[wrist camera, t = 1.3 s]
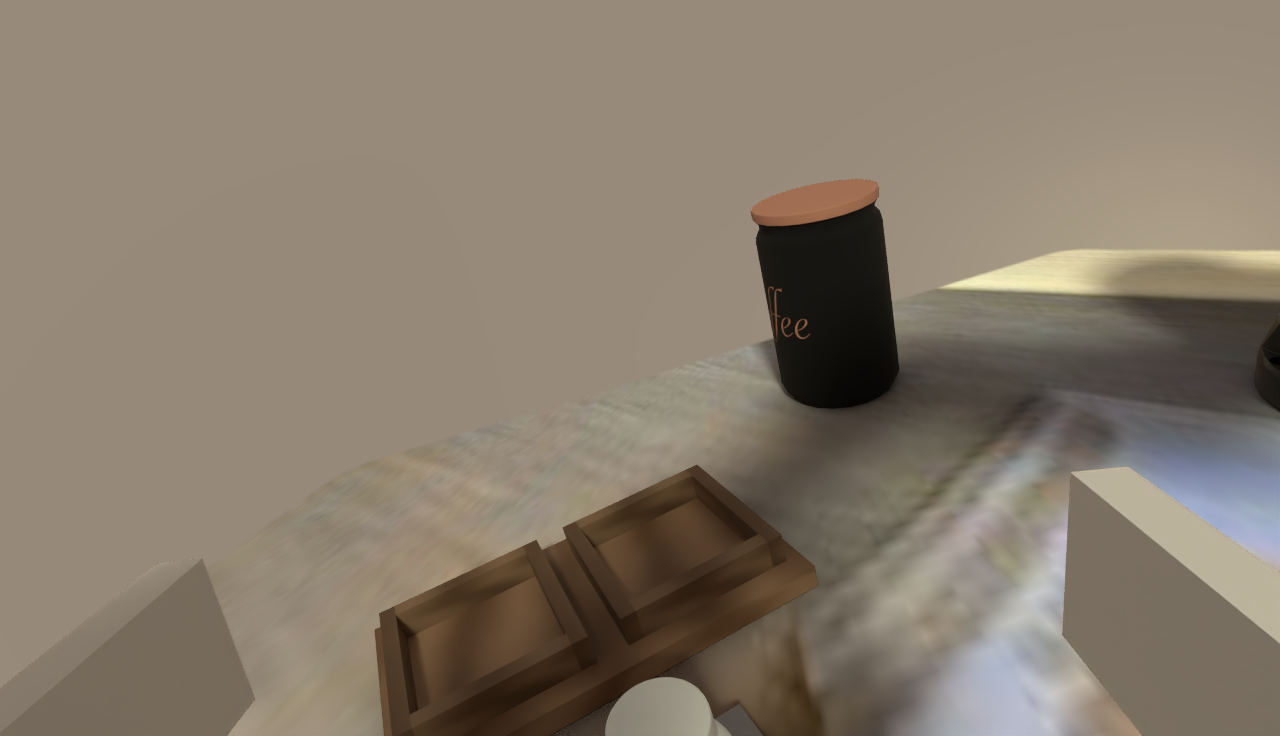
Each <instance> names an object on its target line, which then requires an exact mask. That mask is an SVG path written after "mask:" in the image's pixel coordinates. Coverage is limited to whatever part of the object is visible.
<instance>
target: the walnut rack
mask: <svg viewBox="0 0 1280 736" xmlns="http://www.w3.org/2000/svg"><path fill="white" fill-rule="evenodd" d="M563 530H564V533H565V536H566V538H567V539H565V540H563V541H561V542H559V543H557V544H555V545H553V546H550V547H548V548H546V549H544V550H541V548H540V546H539V544H538V542H537V540H535V541H533V542H531V543H529V544H527V545H524V546H522V547H520V548H518V549H516V550H514V551H512V552H509V553H507V554H505V555H503V556H501V557H499V558H497V559H494V560H492V561H490V562H488V563H486V564H484V565H482V566H480V567H477V568H475V569H473V570H471V571H469V572H467V573H465V574H462V575H460V576H458V577H456V578H454V579H452V580H450V581H447V582H445V583H443V584H441V585H439V586H437V587H435V588H432V589H430V590H428V591H426V592H424V593H422V594H420V595H418V596H415V597H413V598H411V599H409V600H407V601H405V602H403V603H400V604H398V605H396V606H394V607H392V608H390V609H388V610H385V611H383V612H381V613H379V616H380V625H381V627H380V628H377V629H375V639H376V650H377V661H378V672H379V684H380V695H381V706H382V717H383V728H384V736H549V735H551V734H553V733H555V732H557V731H558V730H560V729H562V728H564V727H566V726H567V725H569V724H571V723H573V722H574V721H576V720H578V719H580V718H582V717H583V716H585V715H587V714H589V713H591V712H592V711H594V710H596V709H598V708H600V707H601V706H603V705H605V704H607V703H608V702H610V701H612V700H614V699H616V698H617V697H619V696H621V695H623V694H625V693H626V692H627V691H628V690H630V689H631V688H632V687H634V686H636V685H638V684H640V683H642V682H644V681H647V680H650V679H651V678H653V677H655V676H657V675H658V674H660V673H662V672H664V671H666V670H667V669H669V668H671V667H673V666H675V665H676V664H678V663H680V662H682V661H683V660H685V659H687V658H689V657H691V656H692V655H694V654H696V653H698V652H700V651H701V650H703V649H705V648H707V647H708V646H710V645H712V644H714V643H716V642H717V641H719V640H721V639H723V638H725V637H726V636H728V635H730V634H732V633H734V632H735V631H737V630H739V629H741V628H742V627H744V626H746V625H748V624H750V623H751V622H753V621H755V620H757V619H759V618H760V617H762V616H764V615H766V614H767V613H769V612H771V611H773V610H775V609H776V608H778V607H780V606H782V605H784V604H785V603H787V602H789V601H791V600H792V599H794V598H796V597H798V596H800V595H801V594H803V593H805V592H807V591H809V590H810V589H812V588H814V587H816V586H817V585H818V582H817V576H816V571H815V566H814V565H813V564H812V563H810V562H809V561H808V560H807V559H806V558H804V557H803V556H802V555H801V554H800V553H798V552H797V551H796V550H795V549H794V548H793V547H791V546H790V545H789V544H788V543H787V542H785V541H784V540H783V539H782V536H781V534H780V533H778V532H777V531H776V530H775V529H774V528H772V527H771V526H770V525H769V524H768V523H766V522H765V521H764V520H763V519H762V518H760V517H759V516H758V515H757V514H756V513H754V512H753V511H752V510H751V509H750V508H748V507H747V506H746V505H745V504H744V503H742V502H741V501H740V500H739V499H738V498H736V497H735V496H734V495H733V494H732V493H730V492H729V491H728V490H727V489H726V488H724V487H723V486H722V485H721V484H720V483H718V482H717V481H716V480H715V479H714V478H712V477H711V476H710V475H709V474H708V473H706V472H705V471H704V470H703V469H702V468H700V467H699V466H698V465H695V466H693V467H691V468H689V469H687V470H685V471H683V472H680V473H678V474H676V475H674V476H672V477H670V478H668V479H665V480H663V481H661V482H659V483H657V484H655V485H653V486H650V487H648V488H646V489H644V490H642V491H640V492H638V493H635V494H633V495H631V496H629V497H627V498H625V499H623V500H621V501H618V502H616V503H614V504H612V505H610V506H608V507H606V508H603V509H601V510H599V511H597V512H595V513H593V514H591V515H588V516H586V517H584V518H582V519H580V520H578V521H576V522H574V523H571V524H569V525H567V526H565V527H563Z"/></svg>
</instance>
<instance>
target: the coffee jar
mask: <svg viewBox="0 0 1280 736" xmlns="http://www.w3.org/2000/svg"><path fill="white" fill-rule="evenodd" d="M878 197H879V187H878V184H877V182H874V181H871V180H861V179H851V180H839V181H832V182H824V183H819V184H814V185H809V186H804V187H800V188H797V189H793V190H789V191H786V192H783V193H780V194H777V195H774V196H771V197H769V198H767V199H765V200H762V201H761V202H759V203H758V204H756V205H755V206H754V207H753V208H752V210H751V215H752V219H753V221H754V222H755V223H757V224H758V225H759V231H758V234H757V237H756V245H757V250H758V256H759V261H760V266H761V272H762V277H763V283H764V288H765V293H766V299H767V304H768V309H769V315H770V320H771V326H772V331H773V336H774V342H775V347H776V353H777V358H778V363H779V369H780V374H781V379H782V383H783V385H784V386H785V388H786V389H787V391H788V392H789V394H791V395H792V396H793V397H794V398H795V399H796V400H798V401H799V402H801V403H803V404H805V405H809V406H813V407H818V408H841V407H851V406H855V405H859V404H863V403H866V402H869V401H871V400H873V399H875V398H878V397H880V396H881V395H882V394H884V393H885V392H886V391H887V390H889V388H890V386H891V385H892V383H893V382H894V380H895V378H896V376H897V374H898V371H899V363H898V354H897V345H896V336H895V327H894V318H893V309H892V300H891V291H890V282H889V273H888V264H887V255H886V246H885V237H884V228H883V219H882V216H881V213H880V210H879V209H878V208H877V207H875V205H874V204H875V202H876V200H877V198H878Z"/></svg>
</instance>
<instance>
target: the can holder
mask: <svg viewBox="0 0 1280 736" xmlns="http://www.w3.org/2000/svg"><path fill="white" fill-rule="evenodd" d="M715 720H717V721H718V722H719V723H721V724H722V725H723V726H724V727H725V728H726V729H727V730H728V731H729V733H730V734H731V735H732V736H763V735H762V733H761V732H760V731H759V729H758V728H757V727H756V725H755V724H754V723H753V721H752V720H751V719H750V717H749V716H748V715H747V713H746V712H745V711H744V709H743V708H742V707H741V705H740V704H738V705H737V706H735V707H733V708H732V709H730V710H728V711H727V712H725V713H723V714H722V715H720V716H718V717H717V718H715Z"/></svg>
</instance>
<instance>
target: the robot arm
mask: <svg viewBox="0 0 1280 736" xmlns="http://www.w3.org/2000/svg"><path fill="white" fill-rule="evenodd" d="M1255 384H1256V387H1257V389H1258V391H1259V392H1260V393H1261V395H1262V396H1263V397H1264V398H1265V399H1266V400H1267V401H1269V402H1270V403H1271V404H1273V405H1274V406H1276V407H1277V408H1279V409H1280V314H1279V315H1278V317H1277V319H1276V320H1275V322H1274V324H1273V325H1272V327H1271V329H1270V330H1269V332H1268V334H1267V335H1266V337H1265V339H1264V340H1263V342H1262V344H1261V346H1260V348H1259V351H1258V355H1257V363H1256V372H1255ZM1062 635H1063V636H1064V638H1065V639H1066V640H1067V641H1068V643H1069V644H1070V645H1071V647H1072V648H1073V649H1074V650H1075V652H1076V653H1077V654H1078V655H1079V657H1080V658H1081V659H1082V660H1083V662H1084V663H1085V664H1086V665H1087V667H1088V668H1089V669H1090V670H1091V672H1092V673H1093V674H1094V675H1095V677H1096V678H1097V679H1098V680H1099V682H1100V683H1101V684H1102V685H1103V687H1104V688H1105V689H1106V691H1107V692H1108V693H1109V694H1110V696H1111V697H1112V698H1113V699H1114V701H1115V702H1116V703H1117V704H1118V706H1119V707H1120V708H1121V709H1122V711H1123V712H1124V713H1125V714H1126V716H1127V717H1128V718H1129V719H1130V721H1131V722H1132V723H1133V724H1134V726H1135V727H1136V728H1137V730H1138V731H1139V732H1140V733H1141V735H1142V736H1280V573H1279V572H1277V571H1276V570H1275V569H1273V568H1272V567H1270V566H1269V565H1267V564H1266V563H1265V562H1263V561H1262V560H1260V559H1259V558H1257V557H1256V556H1255V555H1253V554H1252V553H1250V552H1249V551H1247V550H1246V549H1245V548H1243V547H1242V546H1240V545H1239V544H1238V543H1236V542H1235V541H1233V540H1232V539H1230V538H1229V537H1228V536H1226V535H1225V534H1223V533H1222V532H1220V531H1219V530H1218V529H1216V528H1215V527H1213V526H1212V525H1210V524H1209V523H1208V522H1206V521H1205V520H1203V519H1202V518H1200V517H1199V516H1198V515H1196V514H1195V513H1193V512H1192V511H1190V510H1189V509H1188V508H1186V507H1185V506H1183V505H1182V504H1181V503H1179V502H1178V501H1176V500H1175V499H1173V498H1172V497H1171V496H1169V495H1168V494H1166V493H1165V492H1163V491H1162V490H1161V489H1159V488H1158V487H1156V486H1155V485H1153V484H1152V483H1151V482H1149V481H1148V480H1146V479H1145V478H1143V477H1142V476H1141V475H1139V474H1138V473H1136V472H1135V471H1133V470H1132V469H1131V468H1129V467H1118V468H1107V469H1097V470H1087V471H1077V472H1070V492H1069V512H1068V532H1067V552H1066V572H1065V592H1064V612H1063V632H1062ZM254 700H255V697H254V694H253V691H252V689H251V686H250V684H249V681H248V678H247V676H246V673H245V670H244V668H243V665H242V662H241V660H240V657H239V654H238V652H237V649H236V647H235V644H234V641H233V639H232V636H231V633H230V631H229V628H228V625H227V623H226V620H225V617H224V615H223V612H222V610H221V607H220V604H219V602H218V599H217V596H216V594H215V591H214V588H213V586H212V583H211V580H210V578H209V575H208V573H207V570H206V567H205V565H204V562H203V559H193V560H183V561H173V562H164V563H157V564H156V565H154V566H153V567H152V568H151V569H149V570H148V571H147V572H146V573H144V574H143V575H142V576H141V577H139V578H138V579H137V580H136V581H134V582H133V583H132V584H131V585H129V586H128V587H127V588H125V589H124V590H123V591H122V592H120V593H119V594H118V595H117V596H115V597H114V598H113V599H112V600H110V601H109V602H108V603H107V604H105V605H104V606H103V607H102V608H100V609H99V610H98V611H97V612H95V613H94V614H93V615H92V616H91V617H89V618H88V619H87V620H85V621H84V622H83V623H82V624H80V625H79V626H78V627H77V628H75V629H74V630H73V631H71V632H70V633H69V634H68V635H66V636H65V637H64V638H63V639H62V640H60V641H59V642H58V643H57V644H55V645H54V646H53V647H51V648H50V649H49V650H48V651H46V652H45V653H44V654H43V655H41V656H40V657H39V658H38V659H36V660H35V661H34V662H32V663H31V664H30V665H29V666H28V667H26V668H25V669H24V670H22V671H21V672H20V673H19V674H17V675H16V676H15V677H14V678H12V679H11V680H10V681H9V682H7V683H6V684H5V685H4V686H2V687H1V688H0V736H227V735H228V734H229V732H230V731H231V730H232V729H233V727H234V726H235V725H236V723H237V722H238V721H239V719H240V718H241V717H242V716H243V714H244V713H245V712H246V710H247V709H248V708H249V706H250V705H251V704H252V702H253V701H254Z"/></svg>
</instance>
